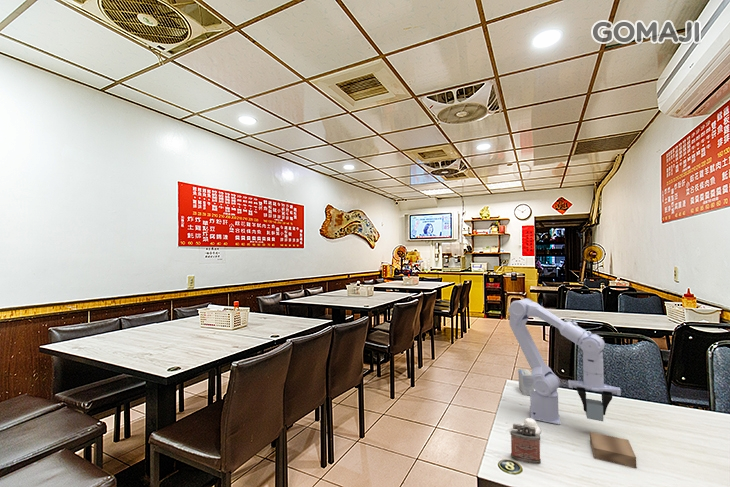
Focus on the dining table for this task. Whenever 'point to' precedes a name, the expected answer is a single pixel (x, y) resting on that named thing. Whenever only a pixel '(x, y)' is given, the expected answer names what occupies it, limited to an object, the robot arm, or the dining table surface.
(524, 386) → the medicine box
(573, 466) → the dining table surface
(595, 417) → the slate cube
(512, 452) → the lighter
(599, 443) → the walnut block
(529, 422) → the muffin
